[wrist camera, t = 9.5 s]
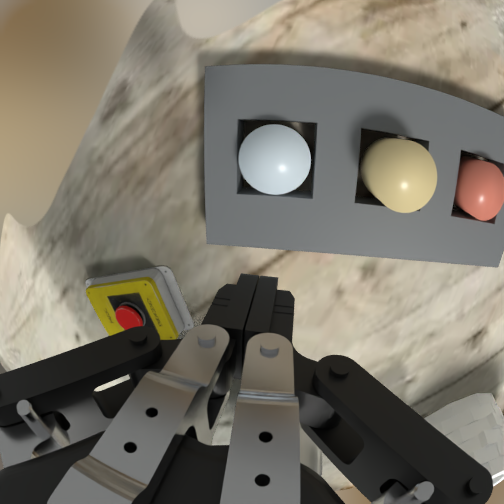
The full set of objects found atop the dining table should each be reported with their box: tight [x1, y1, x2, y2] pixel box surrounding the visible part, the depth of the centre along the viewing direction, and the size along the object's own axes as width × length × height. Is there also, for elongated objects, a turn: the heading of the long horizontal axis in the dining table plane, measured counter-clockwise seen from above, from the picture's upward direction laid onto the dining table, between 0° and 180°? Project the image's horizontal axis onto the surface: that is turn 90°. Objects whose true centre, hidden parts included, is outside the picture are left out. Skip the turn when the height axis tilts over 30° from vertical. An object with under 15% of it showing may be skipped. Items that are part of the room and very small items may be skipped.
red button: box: [453, 156, 504, 221], centre depth 20 cm, size 6×6×4 cm
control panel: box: [204, 64, 504, 267], centre depth 22 cm, size 32×16×3 cm, turn 89°
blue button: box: [239, 124, 311, 195], centre depth 23 cm, size 6×6×4 cm
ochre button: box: [360, 138, 437, 213], centre depth 20 cm, size 6×6×4 cm
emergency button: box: [86, 266, 194, 340], centre depth 33 cm, size 9×4×15 cm
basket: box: [424, 393, 504, 486], centre depth 31 cm, size 25×24×19 cm
